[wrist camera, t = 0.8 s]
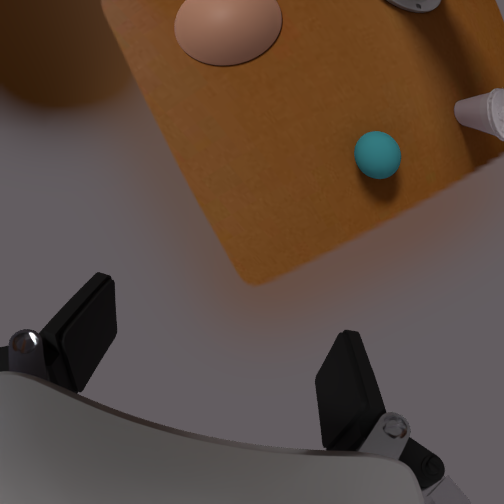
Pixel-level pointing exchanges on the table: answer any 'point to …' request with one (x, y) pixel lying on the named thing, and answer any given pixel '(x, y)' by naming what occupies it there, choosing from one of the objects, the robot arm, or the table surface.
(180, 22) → the pink flattened dome
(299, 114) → the table surface
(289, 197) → the table surface
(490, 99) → the smoothie
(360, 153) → the ball
